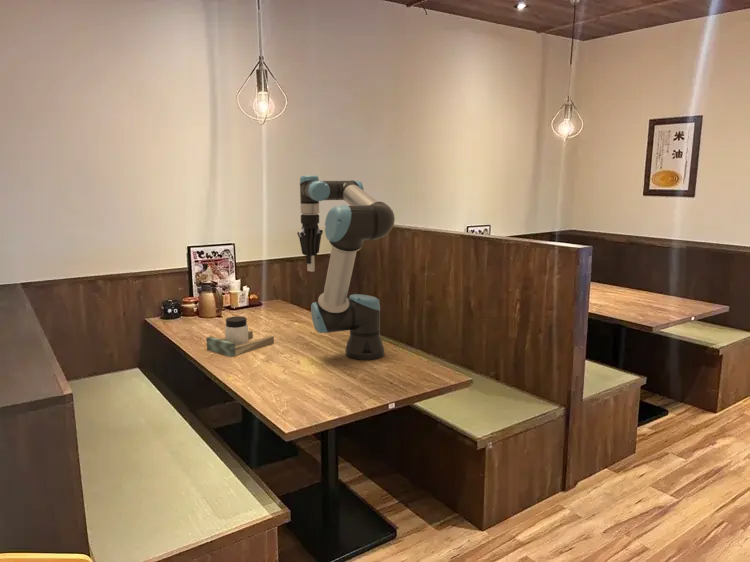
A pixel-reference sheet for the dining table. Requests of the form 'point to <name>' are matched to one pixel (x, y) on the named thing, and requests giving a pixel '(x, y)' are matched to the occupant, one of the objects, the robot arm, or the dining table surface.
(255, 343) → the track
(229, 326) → the jar
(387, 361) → the dining table surface
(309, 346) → the dining table surface
